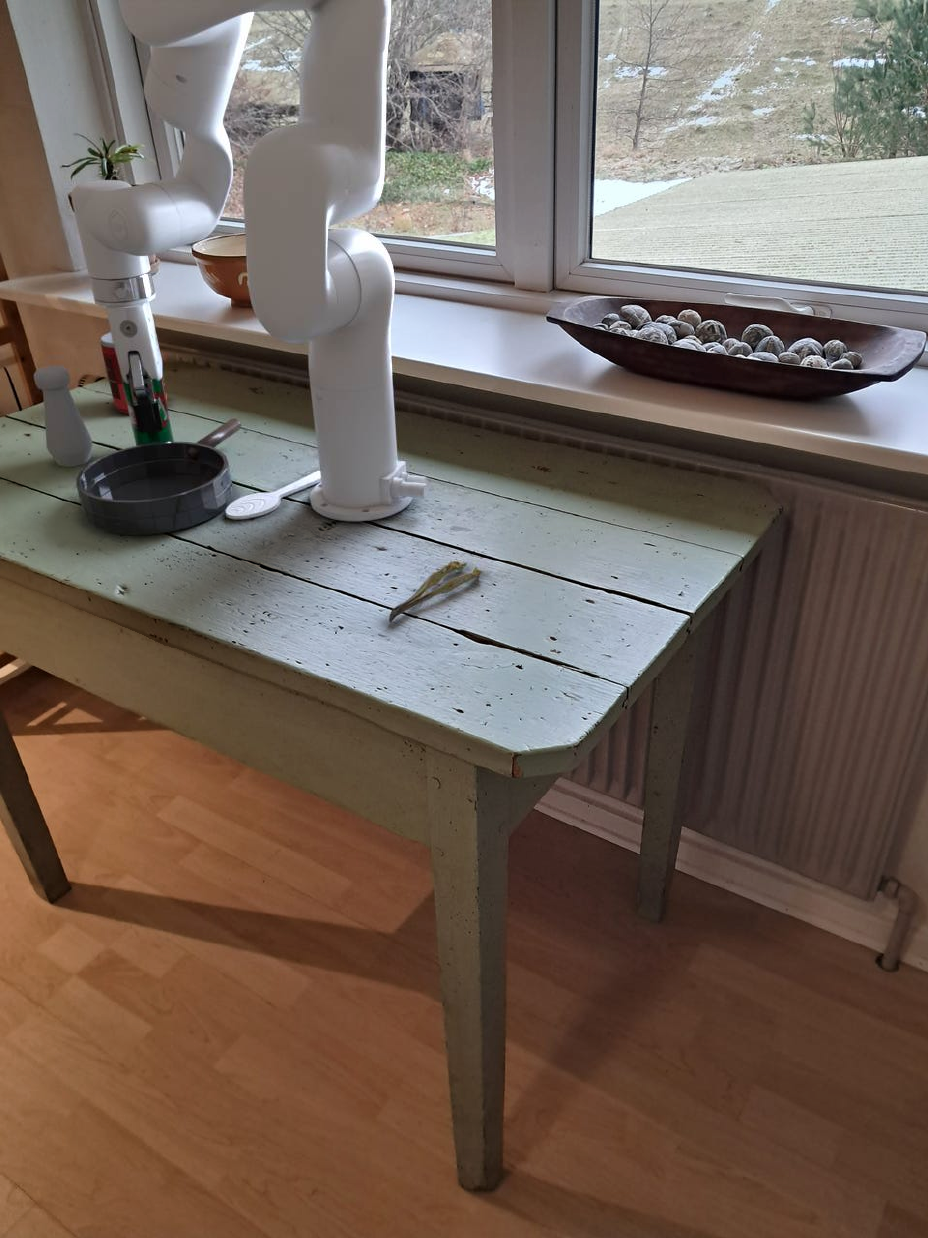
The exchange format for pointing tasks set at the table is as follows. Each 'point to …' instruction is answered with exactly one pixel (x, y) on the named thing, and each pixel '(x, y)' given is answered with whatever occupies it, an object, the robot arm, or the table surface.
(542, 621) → the table surface
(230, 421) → the pan handle
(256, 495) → the spoon
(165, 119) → the robot arm
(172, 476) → the pan
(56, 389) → the salt shaker
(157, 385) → the soda can
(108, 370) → the canned food
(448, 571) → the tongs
